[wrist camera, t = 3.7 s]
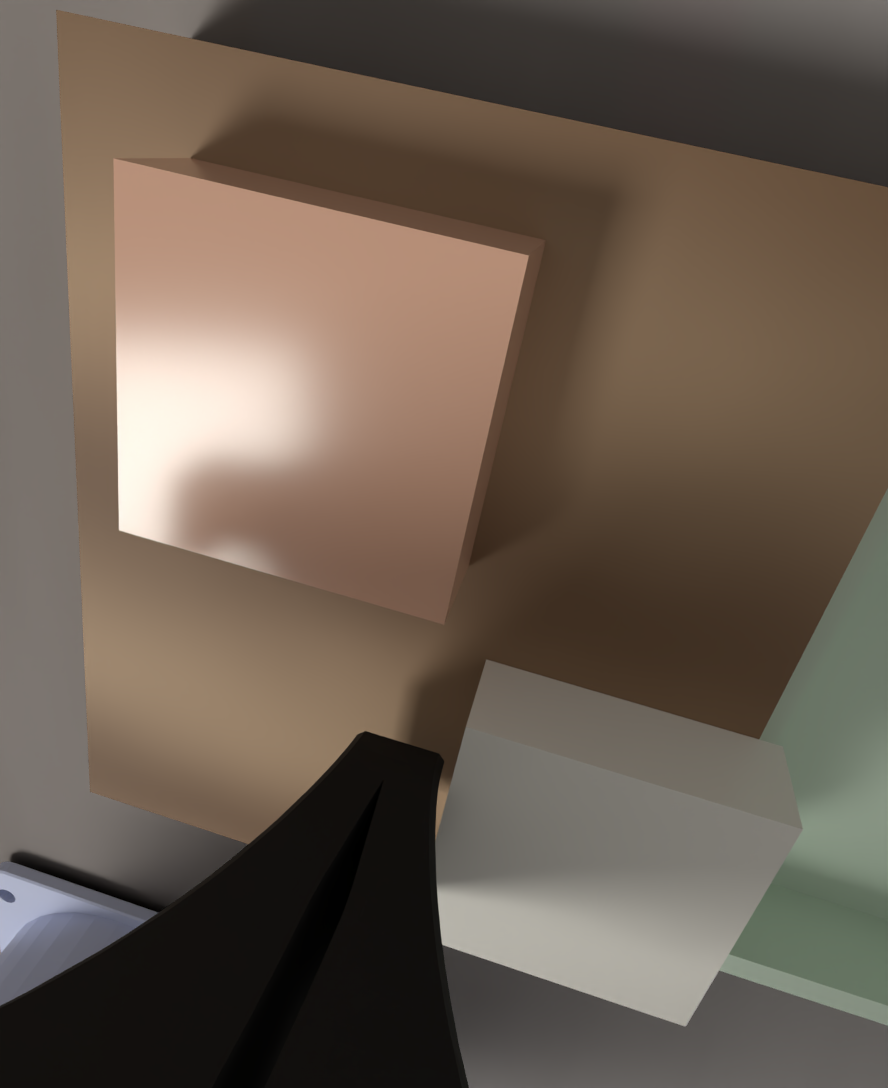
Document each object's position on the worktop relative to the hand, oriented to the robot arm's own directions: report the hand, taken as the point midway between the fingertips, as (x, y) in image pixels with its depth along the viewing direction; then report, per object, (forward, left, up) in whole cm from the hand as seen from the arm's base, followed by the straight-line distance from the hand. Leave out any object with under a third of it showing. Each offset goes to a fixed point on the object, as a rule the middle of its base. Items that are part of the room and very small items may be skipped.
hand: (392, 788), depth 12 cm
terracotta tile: (+6, +2, -1) cm, 6 cm away
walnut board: (+3, +1, -4) cm, 5 cm away
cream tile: (0, -3, -1) cm, 3 cm away
